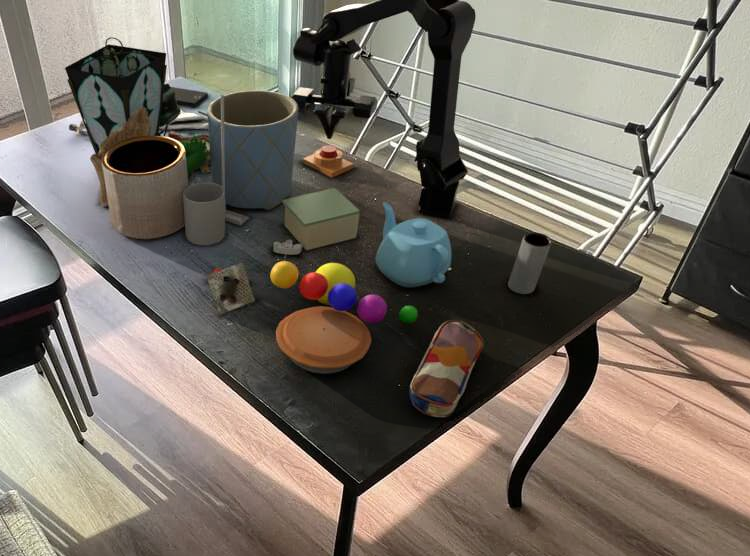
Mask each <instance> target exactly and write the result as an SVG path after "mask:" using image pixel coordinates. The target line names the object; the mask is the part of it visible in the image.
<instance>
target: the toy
mask: <svg viewBox="0 0 750 556" xmlns="http://www.w3.org/2000/svg"><path fill="white" fill-rule="evenodd" d="M196 136H197V135H192V136H191V137H192V138H191V140H190V141H183V142H180V143H181V144H182V145H183V146H184V148H185V152H186V163H187V174H188V179H191V178H193V179H194V181H193V182H194V183H193V184H196V183H203V180H202V179H201V177H197V176H196V175H195V173H194V170H198V169H200V167H201V166H202V165H203V164H204V162H205V160H206V158H207V155H208V154H209V152H208V151H205V147H206V141H205V142H203V143H202V140H200V141H199V142H198V140H197V138H196Z"/></svg>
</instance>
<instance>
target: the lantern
mask: <svg viewBox="0 0 750 556" xmlns="http://www.w3.org/2000/svg"><path fill="white" fill-rule="evenodd" d="M110 39H111V40H112V39H113V40H116V41H118V42H119V44H120V45H115V44H109V43H108V41H109V40H110ZM104 44H105V46H102V47H100V48H99V49H97V50H95V51H93V52H91V53H89V54H88V55H86V56H84V57H82V58H80V59H79V60H76V61H75V62H73V63H70V64H69V65H67V66H65V67H64V70H65V72H66V75H67V79H66V81H67V83H68V85H69V88H70V90H71V93H72V96H73V99H74V102H75V104H76V106H77V110H78V112H79V115H80V117H81V121H82V120H83V122H84V125H85V128H86V129H85V131H86V132H87V133H88V134H87V135H88V138H89V141H90V143H91V146H92V149H93V151H94V154H98V152H99V150H100V144H101V143H102V142H103V141H104V140H105V139H106V138H107V137H108V136H109V134H110V132H112V131H119V130H120V129H121V128H122V127H123V126H124V125H125V123H126V122H127V121H128V119H129V118H130V116H132V115H133V114H134V113H135V111H136V110H138V109H139V108H142V107H144V108H146V110H147V111H148V117H149V120H150V125H151V134H150V136H159V132H160V129H159V127H160V119H161V110H162V102H163V93H164V85H165V84H166V74H167V68H168V67H167V66H168V65H167V64H166V59H167V52H161V51H154V50H148V49H144V48H143V49H142V48H137V47H129V46H124V45H123V43H122V41H121V40H120V39H118V38H116V37H114V36H113V37H108V38H107V39H106V40H105V42H104Z"/></svg>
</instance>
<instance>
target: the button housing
mask: <svg viewBox="0 0 750 556" xmlns="http://www.w3.org/2000/svg"><path fill="white" fill-rule="evenodd" d="M302 164H304V165H305V166H308V167H310V168H311V169H313V170H316V171H317V172H319V173H321V174H324V175H326V176H328V177H330V178H332V179H333V178H334V177H337V176H339V175H341V174H343V173H345V172H346V173H347V172H348V171H350V170H352V169H354V163H353V162H351V161H349V160H347V159H345V158H344V154H343V152H342V150H340V149H338V148H337V153H336V157H334V158H324V157H322V156H321V148H320V149H317V150H316V151H315V152H314V153H313V154H310V155H308V156H305V157H303V158H302Z"/></svg>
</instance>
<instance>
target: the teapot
mask: <svg viewBox="0 0 750 556" xmlns="http://www.w3.org/2000/svg"><path fill="white" fill-rule="evenodd" d="M382 206H383V209H384V211H385V220H384V224H383V230H382V241H381V243H380V245H379V247H378V249H377V251H376V255H375V264H376V267H377V268H378V270H379V271H380V273H381V274H383V276H385V277H386V278H387V279H388V280H390V281H391V282H393V283H395V284H396V285H398V286H400V287H404V288H418V287H423V286H426V285H429V284H431V283H433V282H434V283H435V284H442V283H443V282H444V281H445V280H446V276H445V273H447V272H448V270H449V269H450V268H451V264H452V246H451V242H450V238H449V235H448V232H447V231H446V229H444V228H443V227H442V226H440V225H439V224H437V223H435V222H434V221H432V220H430V219H427V218H423V217H420V218H419V217H417V218H416V217H415V218H411V219H408V220H407V219H406V220H404V221H402V222H400V223H398V224H397V222H396V217H395V212H394V208H393V206H392V205H390V204H389V203H388V202H385V201H383V202H382Z"/></svg>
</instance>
